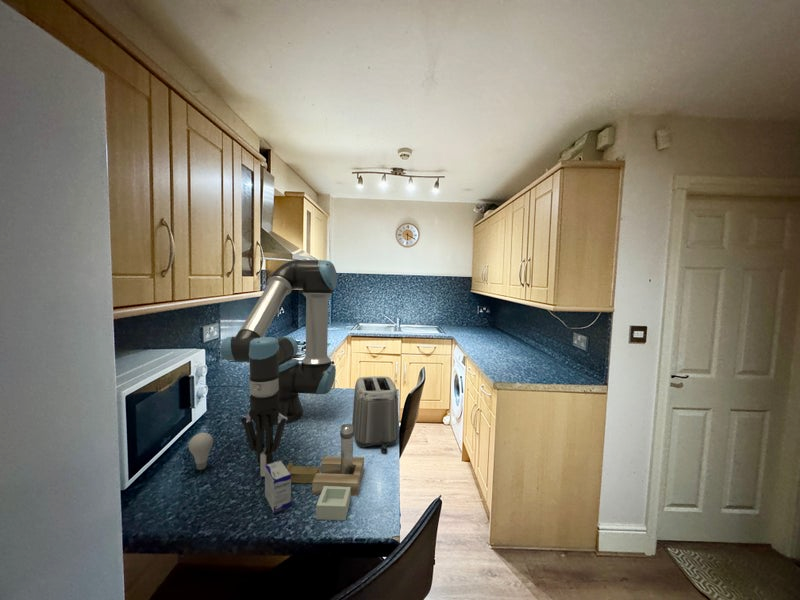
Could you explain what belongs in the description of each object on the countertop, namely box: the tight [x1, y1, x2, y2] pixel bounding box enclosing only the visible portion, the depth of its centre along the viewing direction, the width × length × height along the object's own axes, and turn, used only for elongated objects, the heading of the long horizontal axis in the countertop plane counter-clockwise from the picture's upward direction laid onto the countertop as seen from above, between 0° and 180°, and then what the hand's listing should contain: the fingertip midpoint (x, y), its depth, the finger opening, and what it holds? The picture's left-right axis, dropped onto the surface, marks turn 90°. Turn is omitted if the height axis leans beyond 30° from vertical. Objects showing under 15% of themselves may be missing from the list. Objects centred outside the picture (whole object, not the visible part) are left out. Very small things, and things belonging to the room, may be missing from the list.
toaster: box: [351, 376, 400, 454], centre depth 116 cm, size 17×30×19 cm, turn 9°
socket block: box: [311, 455, 365, 497], centre depth 89 cm, size 12×12×4 cm
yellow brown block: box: [285, 462, 321, 484], centre depth 89 cm, size 5×9×3 cm, turn 89°
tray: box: [315, 486, 352, 521], centre depth 78 cm, size 7×7×4 cm
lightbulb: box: [188, 432, 214, 471], centre depth 93 cm, size 6×6×11 cm
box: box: [264, 460, 292, 514], centre depth 80 cm, size 8×4×9 cm, turn 38°
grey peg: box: [339, 423, 354, 474], centre depth 89 cm, size 4×4×16 cm
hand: (265, 473), depth 89 cm, fingers closed
